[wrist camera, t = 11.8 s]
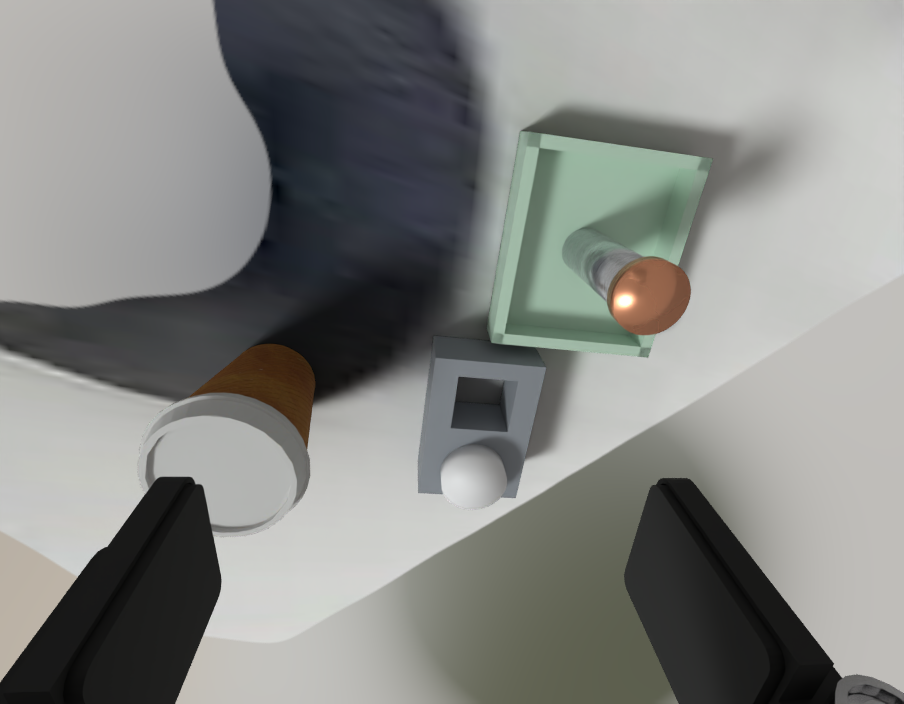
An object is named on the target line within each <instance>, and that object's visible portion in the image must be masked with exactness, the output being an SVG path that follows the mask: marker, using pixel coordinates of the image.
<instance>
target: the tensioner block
mask: <svg viewBox="0 0 904 704" xmlns="http://www.w3.org/2000/svg"><path fill="white" fill-rule="evenodd" d="M545 371H546V366H545V364H544V362H543V361H542V359H541V357H540V355H539V353H538V352H537V350H536V348H535V347H529V346H518V345H507V344H496V343H491V341H486V340H475V339H465V338H454V337H443V336H433V344H432V352H431V360H430V368H429V376H428V384H427V392H426V400H425V408H424V416H423V424H422V432H421V440H420V448H419V456H418V493H429V494H444V496H445V498H446V499H447V500H448V501H449V502H450V503H451V504H453V505H454V506H456V507H459V508H462V509H468V510H475V509H482V508H485V507H488V506H490V505H492V504H493V503H495V502H496V501H497V500H499V499H500V497H504V498H516V495H517V490H518V486H519V482H520V478H521V473H522V469H523V465H524V461H525V456H526V452H527V448H528V444H529V439H530V435H531V431H532V427H533V422H534V418H535V414H536V410H537V405H538V401H539V397H540V392H541V388H542V384H543V380H544V375H545ZM458 377H471V378H483V379H495V380H504V384H503V389H502V394H501V400H500V405H493V404H479V403H466V402H455V397H456V390H457V383H458Z"/></svg>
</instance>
